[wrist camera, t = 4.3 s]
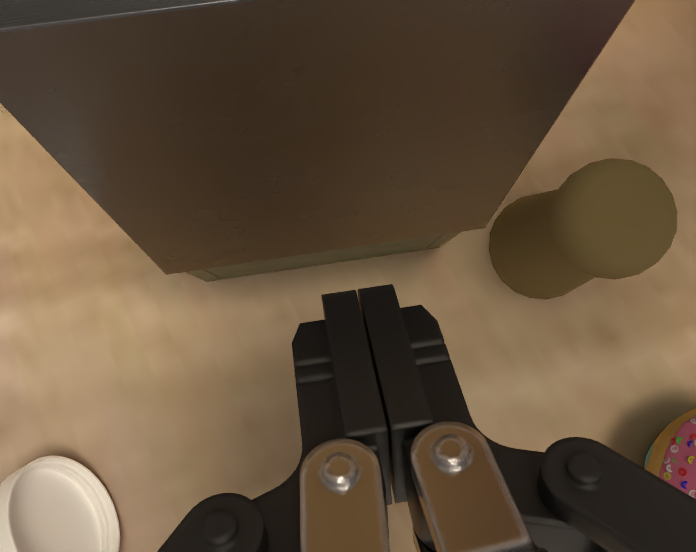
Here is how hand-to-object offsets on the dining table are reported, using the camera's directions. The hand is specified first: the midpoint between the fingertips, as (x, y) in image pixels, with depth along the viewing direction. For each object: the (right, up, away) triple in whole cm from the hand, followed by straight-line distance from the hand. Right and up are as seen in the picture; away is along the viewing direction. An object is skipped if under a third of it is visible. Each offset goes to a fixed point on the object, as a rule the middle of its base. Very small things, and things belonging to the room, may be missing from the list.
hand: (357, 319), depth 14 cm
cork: (+11, +3, +24) cm, 27 cm away
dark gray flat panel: (-1, +5, +6) cm, 8 cm away
